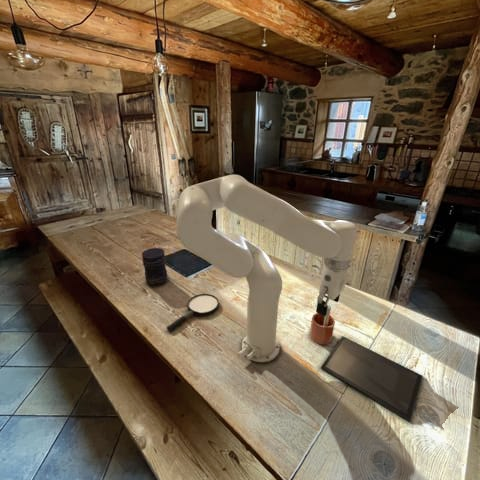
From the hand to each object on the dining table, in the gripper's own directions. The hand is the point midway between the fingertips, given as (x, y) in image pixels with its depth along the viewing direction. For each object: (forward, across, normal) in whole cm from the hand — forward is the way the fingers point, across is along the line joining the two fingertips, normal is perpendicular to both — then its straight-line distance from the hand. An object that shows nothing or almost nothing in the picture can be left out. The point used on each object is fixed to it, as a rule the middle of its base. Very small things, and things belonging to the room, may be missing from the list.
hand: (327, 306), depth 88 cm
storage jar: (+15, -17, +74) cm, 78 cm away
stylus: (+13, +1, 0) cm, 13 cm away
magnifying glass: (+15, -21, +44) cm, 51 cm away
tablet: (+13, -3, -18) cm, 22 cm away
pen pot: (+14, +1, 0) cm, 14 cm away
